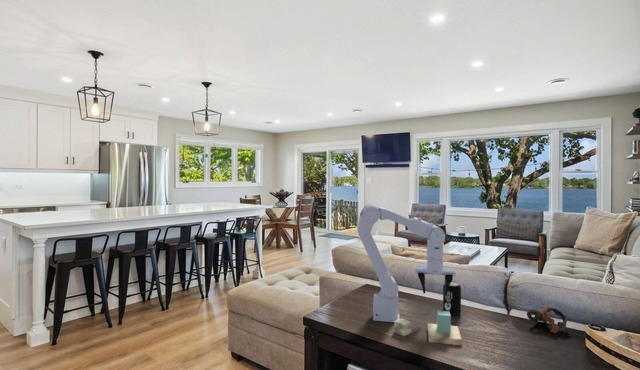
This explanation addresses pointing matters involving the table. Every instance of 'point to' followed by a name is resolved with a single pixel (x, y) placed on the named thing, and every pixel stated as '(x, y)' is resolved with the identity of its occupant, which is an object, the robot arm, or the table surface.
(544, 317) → the rusty metal shackles
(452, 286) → the beverage can
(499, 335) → the table surface
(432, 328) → the cream square slab
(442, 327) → the teal block
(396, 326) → the cream cube
